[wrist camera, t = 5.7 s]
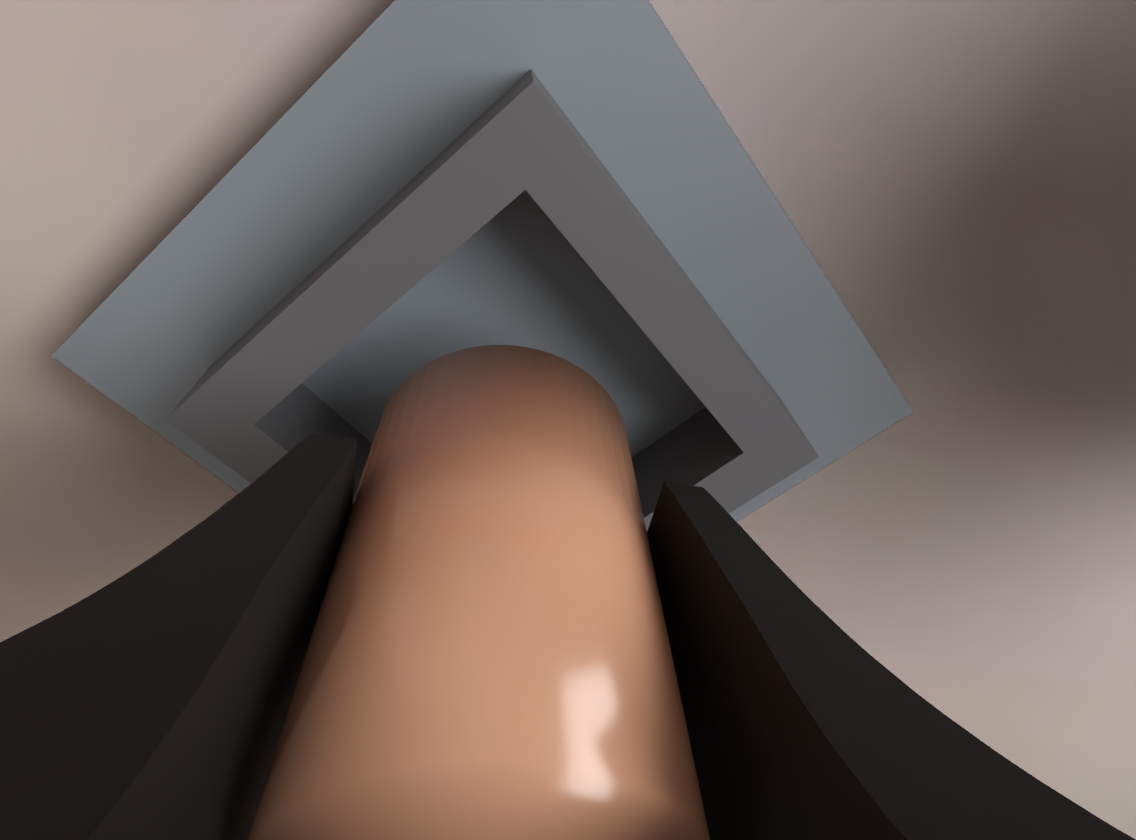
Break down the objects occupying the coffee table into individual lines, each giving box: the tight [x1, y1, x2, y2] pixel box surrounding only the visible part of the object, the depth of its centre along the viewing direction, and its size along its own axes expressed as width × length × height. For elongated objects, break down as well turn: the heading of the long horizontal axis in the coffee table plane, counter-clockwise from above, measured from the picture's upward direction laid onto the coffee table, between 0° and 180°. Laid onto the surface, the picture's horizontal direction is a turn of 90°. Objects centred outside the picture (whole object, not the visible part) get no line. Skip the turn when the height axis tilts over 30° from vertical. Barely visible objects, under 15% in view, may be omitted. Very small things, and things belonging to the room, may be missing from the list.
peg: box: [247, 345, 710, 840], centre depth 10 cm, size 4×4×7 cm
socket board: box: [51, 0, 913, 531], centre depth 14 cm, size 12×12×3 cm
